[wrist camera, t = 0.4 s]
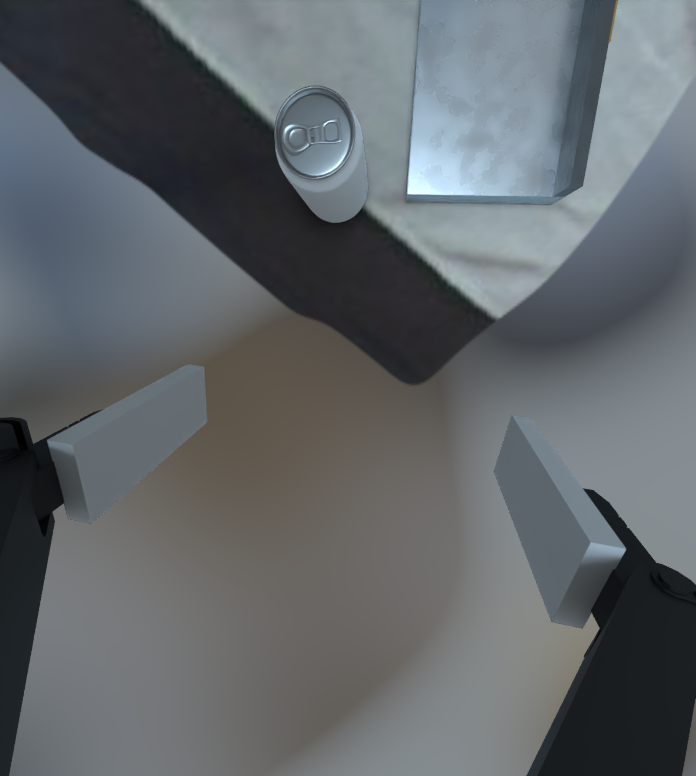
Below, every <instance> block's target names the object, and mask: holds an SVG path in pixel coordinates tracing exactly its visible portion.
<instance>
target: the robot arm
mask: <svg viewBox="0 0 696 776" xmlns="http://www.w3.org/2000/svg"><path fill="white" fill-rule="evenodd" d="M206 423H207V408H206V392H205V375H204V367H201V366H195V365H189V364H188V365H185V366H184V367H182V368H180V369H178V370H176V371H174V372H172V373H171V374H169V375H167V376H165V377H163V378H161V379H159V380H158V381H156V382H154V383H152V384H150V385H148V386H146V387H145V388H143V389H141V390H139V391H137V392H135V393H133V394H132V395H130V396H128V397H126V398H124V399H123V400H120V401H118V402H117V403H115V404H113V405H111V406H109V407H107V408H106V409H103V410H100V411H96V412H93V413H91V414H89V415H88V416H85V417H84V418H82V419H80V421H76V422H74V423H72V424H70V425H69V427H65V428H63V429H61V430H59V431H57V432H55V433H53V434H51V435H50V436H48V437H46V438H44V439H42V440H40V441H39V442H36V443H34V444H33V442H32V439H31V435H30V432H29V429H28V425H27V421H26V420H23V419H21V418H13V417H9V418H0V776H9V773H10V767H11V762H12V756H13V751H14V744H15V739H16V734H17V728H18V723H19V717H20V712H21V706H22V700H23V695H24V690H25V684H26V678H27V673H28V667H29V662H30V656H31V651H32V645H33V640H34V634H35V628H36V623H37V618H38V612H39V607H40V601H41V595H42V590H43V584H44V579H45V573H46V568H47V562H48V556H49V551H50V545H51V540H52V535H53V529H54V523H55V520H54V516H53V513H52V512H53V511H54V510H55V509H57V508H58V507H59V506H61V505H62V504H63V503H64V506H65V510H66V514H67V518H68V519H70V520H74V521H79V522H84V523H88V524H92V523H93V522H94V521H95V520H96V519H97V518H99V517H100V516H101V515H102V514H103V513H104V512H105V511H106V510H108V509H109V508H110V507H111V506H112V505H113V504H114V503H116V502H117V501H118V500H119V499H120V498H121V497H122V496H124V495H125V494H126V493H127V492H128V491H129V490H130V489H131V488H133V487H134V486H135V485H136V484H137V483H138V482H139V481H141V480H142V479H143V478H144V477H145V476H146V475H148V474H149V473H150V472H151V471H152V470H153V469H154V468H155V467H156V466H158V465H159V464H160V463H161V462H162V461H163V460H165V459H166V458H167V457H168V456H169V455H170V454H171V453H173V452H174V451H175V450H176V449H177V448H178V447H179V446H181V445H182V444H183V443H184V442H185V441H186V440H187V439H188V438H190V437H191V435H193V434H194V433H195V432H196V431H198V430H199V429H200V428H201V427H202V426H203V425H204V424H206ZM494 473H495V476H496V479H497V481H498V484H499V486H500V489H501V492H502V494H503V497H504V499H505V502H506V504H507V507H508V510H509V513H510V515H511V518H512V520H513V523H514V525H515V528H516V531H517V533H518V536H519V539H520V541H521V544H522V546H523V549H524V551H525V554H526V557H527V559H528V562H529V564H530V567H531V570H532V572H533V575H534V578H535V580H536V583H537V585H538V588H539V591H540V593H541V596H542V599H543V601H544V604H545V606H546V609H547V612H548V614H549V617H550V619H551V622H554V623H559V624H563V625H568V626H573V627H578V628H582V629H583V627H584V625H585V623H586V622H587V620H588V618H589V616H590V614H591V613H592V614H593V616H594V618H595V620H596V622H597V624H598V626H599V628H600V629H599V631H598V632H597V634H596V636H595V638H594V640H593V641H592V643H591V645H590V646H589V648H588V650H587V651H586V653H585V655H584V657H585V658H584V660H583V662H582V664H581V666H580V668H579V670H578V672H577V674H576V676H575V678H574V680H573V682H572V684H571V686H570V688H569V690H568V693H567V695H566V697H565V699H564V701H563V703H562V705H561V707H560V709H559V711H558V713H557V715H556V717H555V719H554V721H553V723H552V725H551V727H550V729H549V731H548V733H547V735H546V737H545V739H544V741H543V743H542V745H541V747H540V750H539V751H538V754H537V755H536V757H535V760H534V762H533V764H532V766H531V768H530V770H529V772H528V774H527V776H682V772H683V766H684V761H685V755H686V750H687V744H688V737H689V733H690V727H691V721H692V715H693V709H694V704H695V698H696V585H695V584H694V583H693V582H692V581H691V580H690V579H688V578H687V577H685V576H683V575H682V574H680V573H679V572H678V571H676V570H673V569H671V568H669V567H667V566H665V565H663V564H659V563H656V562H655V560H654V559H653V558H652V557H651V555H650V554H649V553H648V552H647V550H646V549H645V548H644V546H643V545H642V544H641V543H640V542H639V540H638V539H637V538H636V536H635V535H634V534H633V533H632V531H631V530H630V529H629V528H627V525H626V524H625V522H624V521H623V520H622V519H621V518H620V517H619V516H618V514H617V512H616V511H615V510H614V508H613V507H612V506H611V505H610V503H609V502H608V501H606V500H605V499H604V498H603V497H601V496H600V495H599V494H597V493H596V492H595V491H594V490H590V489H584V488H582V487H581V485H580V484H579V483H578V481H577V480H576V479H575V477H574V476H573V474H572V473H571V472H570V470H569V469H568V468H567V466H566V465H565V463H564V462H563V461H562V459H561V458H560V457H559V455H558V454H557V453H556V451H555V450H554V449H553V447H552V445H551V444H550V443H549V441H548V440H547V439H546V437H545V436H544V434H543V433H542V432H541V430H540V429H539V428H538V426H537V425H536V423H535V422H534V421H533V419H532V418H529V417H523V416H517V415H511V419H510V422H509V425H508V428H507V431H506V434H505V438H504V441H503V444H502V447H501V450H500V454H499V457H498V460H497V463H496V466H495V469H494Z"/></svg>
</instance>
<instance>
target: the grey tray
mask: <svg viewBox="0 0 696 776" xmlns="http://www.w3.org/2000/svg"><path fill="white" fill-rule="evenodd" d="M617 2H618V0H420V14H419V27H418V41H417V54H416V68H415V81H414V95H413V108H412V122H411V135H410V149H409V162H408V176H407V189H406V202H447V203H497V204H547V205H552V204H553V203H555V202H557V201H558V200H560V199H562V198H563V197H565V196H567V195H568V194H570V193H572V192H574V191H575V190H577V189H579V188H580V187H582V186H583V182H584V176H585V171H586V165H587V160H588V154H589V149H590V143H591V138H592V132H593V126H594V121H595V115H596V110H597V104H598V99H599V93H600V88H601V82H602V76H603V71H604V65H605V60H606V54H607V49H608V43H609V42H610V41H611V36H612V30H613V24H614V19H615V13H616V8H617Z"/></svg>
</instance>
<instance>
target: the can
mask: <svg viewBox="0 0 696 776" xmlns="http://www.w3.org/2000/svg"><path fill="white" fill-rule="evenodd" d="M274 138H275V148H276V155H277V159H278V162H279V164H280V167H281V169H282V171H283V173H284V174H285V176H286V177H287V179H288V180H289V181H290V183H291V184H292V185H293V187H294V188H295V190H296V191H297V192H298V194H299V195H300V196H301V198H302V199H303V200H304V201H305V203H306V204H307V205H308V207H309V208H310V209H311V210H312V212H313V213H314V214H315V215H316V216H318V217H319V218H321V219H322V220H325V221H327V222H332V223H339V222H344V221H347V220H349V219H351V218H352V217H354V216H355V215H356V214H357V213H358V212H359V211H360V210H361V208H362V207H363V205H364V203H365V201H366V198H367V193H368V177H367V168H366V159H365V151H364V143H363V136H362V131H361V127H360V124H359V121H358V119H357V117H356V115H355V113H354V112H353V110H352V109H351V108H350V106H349V105H348V104H347V103H346V102H345V100H344V99H343V98H342V97H341V96H340V95H339V94H338V93H336V92H335V91H333V90H331V89H329V88H326V87H322V86H308V87H305V88H302V89H300V90H298V91H296V92H294V93H293V94H292V95H291V96H290V97H289V98H288V99H287V100H286V101H285V102H284V103H283V105H282V107H281V108H280V110H279V113H278V115H277V118H276V122H275V128H274Z"/></svg>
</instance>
